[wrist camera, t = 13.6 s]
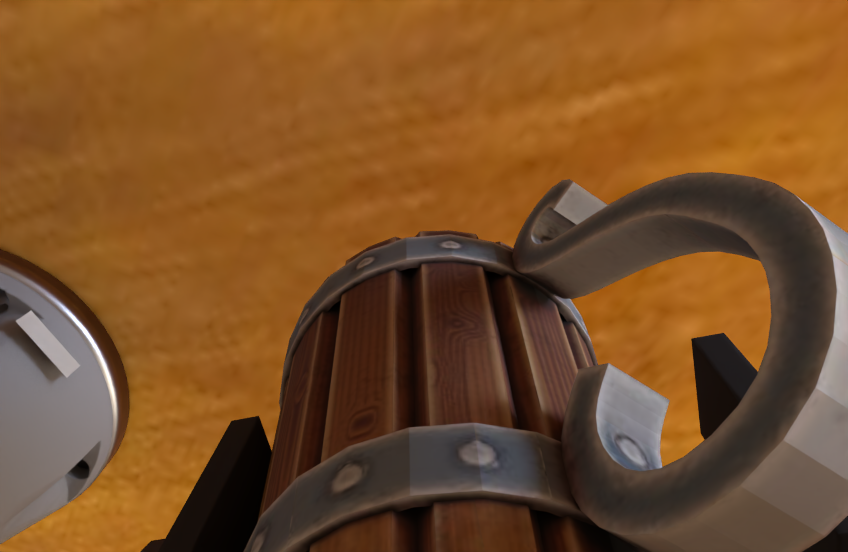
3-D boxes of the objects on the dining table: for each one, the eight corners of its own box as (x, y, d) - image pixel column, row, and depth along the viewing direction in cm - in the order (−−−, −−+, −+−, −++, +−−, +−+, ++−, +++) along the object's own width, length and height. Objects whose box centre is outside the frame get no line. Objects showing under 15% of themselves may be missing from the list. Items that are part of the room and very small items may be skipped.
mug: (475, 523, 27) (543, 1074, 13) (240, 400, 25) (9, 901, 11) (739, 206, 22) (1299, 518, 8) (480, 22, 20) (637, 15, 6)
